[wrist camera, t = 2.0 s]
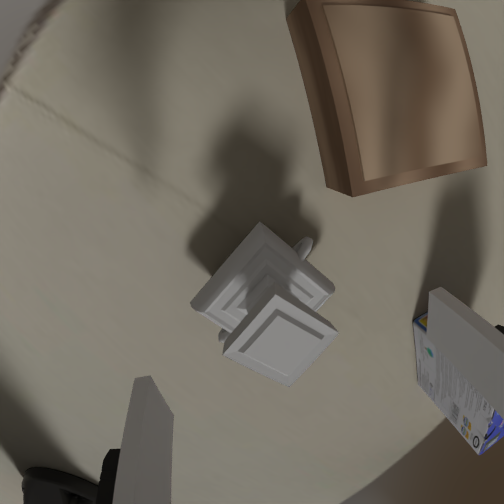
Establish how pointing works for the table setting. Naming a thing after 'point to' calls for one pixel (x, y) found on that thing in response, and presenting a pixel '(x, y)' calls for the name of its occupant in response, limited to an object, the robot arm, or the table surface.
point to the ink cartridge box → (455, 393)
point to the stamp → (269, 306)
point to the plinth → (387, 91)
